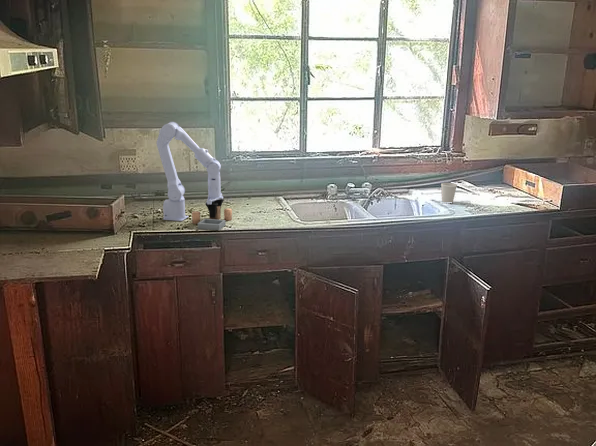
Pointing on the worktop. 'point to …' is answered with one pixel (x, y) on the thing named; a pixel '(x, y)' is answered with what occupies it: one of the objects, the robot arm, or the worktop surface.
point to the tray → (211, 224)
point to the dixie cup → (448, 191)
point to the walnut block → (217, 214)
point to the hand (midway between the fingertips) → (215, 215)
